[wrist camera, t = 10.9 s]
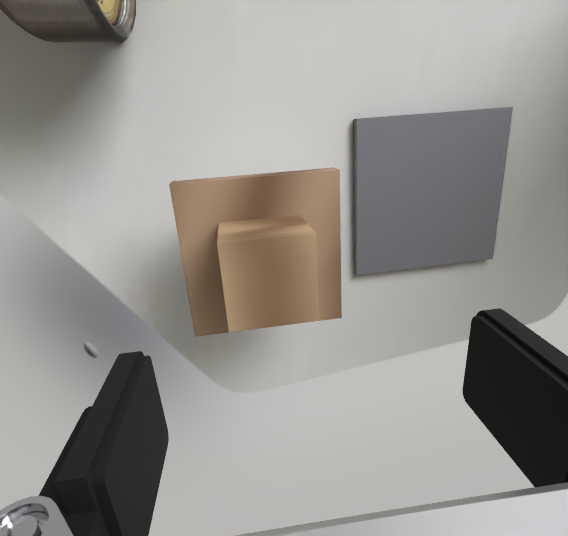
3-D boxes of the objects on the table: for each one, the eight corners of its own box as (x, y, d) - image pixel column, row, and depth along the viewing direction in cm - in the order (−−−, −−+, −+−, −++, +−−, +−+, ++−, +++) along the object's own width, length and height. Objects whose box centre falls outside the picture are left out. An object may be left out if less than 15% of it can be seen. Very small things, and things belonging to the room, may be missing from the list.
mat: (507, 107, 29) (512, 107, 28) (488, 256, 33) (492, 258, 33) (353, 119, 28) (356, 119, 27) (354, 272, 32) (356, 275, 31)
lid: (333, 167, 22) (364, 179, 17) (336, 309, 25) (362, 352, 20) (172, 181, 21) (155, 197, 16) (196, 326, 24) (188, 377, 19)
